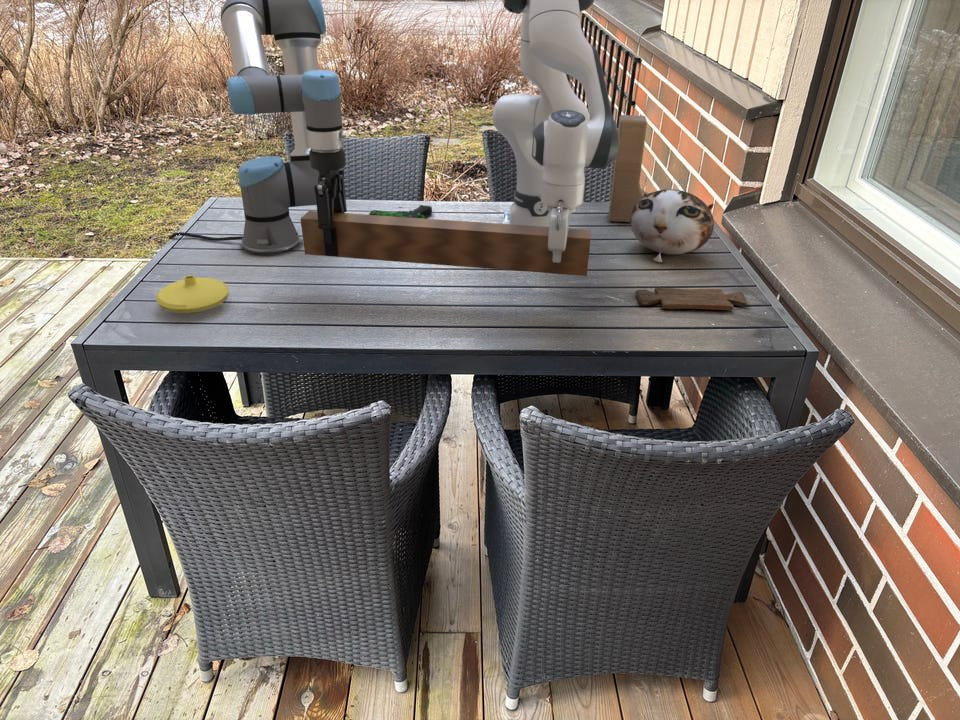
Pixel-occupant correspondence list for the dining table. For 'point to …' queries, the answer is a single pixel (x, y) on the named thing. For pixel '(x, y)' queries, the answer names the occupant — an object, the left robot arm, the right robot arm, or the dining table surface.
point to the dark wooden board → (691, 298)
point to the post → (448, 243)
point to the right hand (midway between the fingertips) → (557, 255)
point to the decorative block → (628, 167)
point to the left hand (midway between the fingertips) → (336, 250)
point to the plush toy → (672, 222)
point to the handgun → (417, 213)
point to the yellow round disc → (192, 295)
